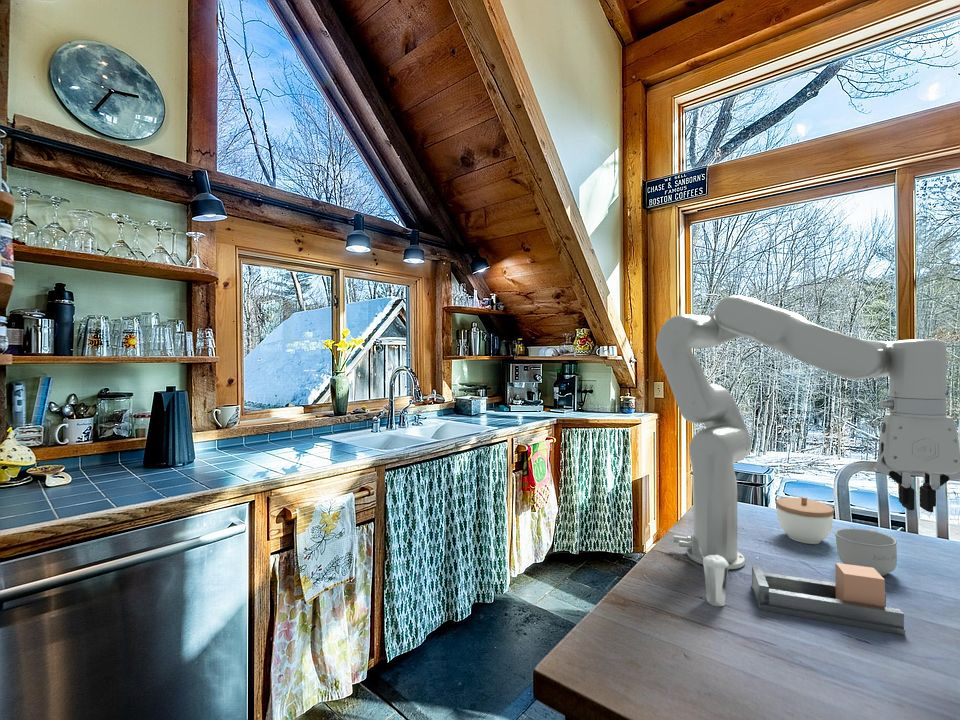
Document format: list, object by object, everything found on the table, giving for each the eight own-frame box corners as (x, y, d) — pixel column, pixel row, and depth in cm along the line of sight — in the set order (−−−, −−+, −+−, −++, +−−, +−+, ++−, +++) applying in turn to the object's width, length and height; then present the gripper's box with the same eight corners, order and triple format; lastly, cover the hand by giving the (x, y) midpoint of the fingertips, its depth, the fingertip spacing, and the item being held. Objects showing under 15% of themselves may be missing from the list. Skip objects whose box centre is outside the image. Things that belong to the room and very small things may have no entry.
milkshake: (703, 592, 96) (703, 544, 96) (731, 602, 92) (731, 552, 92) (695, 600, 93) (695, 551, 92) (724, 611, 89) (724, 559, 89)
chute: (759, 609, 89) (759, 586, 89) (751, 585, 98) (751, 564, 98) (905, 635, 81) (905, 609, 81) (881, 606, 90) (881, 583, 90)
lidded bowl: (767, 528, 130) (767, 489, 130) (816, 530, 129) (816, 491, 129) (791, 547, 118) (791, 504, 118) (845, 549, 116) (845, 506, 116)
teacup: (882, 586, 98) (882, 548, 98) (825, 565, 108) (825, 531, 108) (912, 571, 104) (912, 536, 104) (855, 553, 114) (856, 521, 114)
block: (844, 611, 86) (844, 573, 86) (835, 598, 91) (835, 562, 91) (884, 617, 84) (884, 579, 84) (873, 604, 88) (873, 567, 88)
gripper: (870, 408, 83) (870, 510, 83) (989, 411, 77) (989, 521, 77) (855, 404, 90) (855, 498, 90) (963, 407, 84) (962, 508, 84)
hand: (917, 508), depth 84 cm, fingers closed
